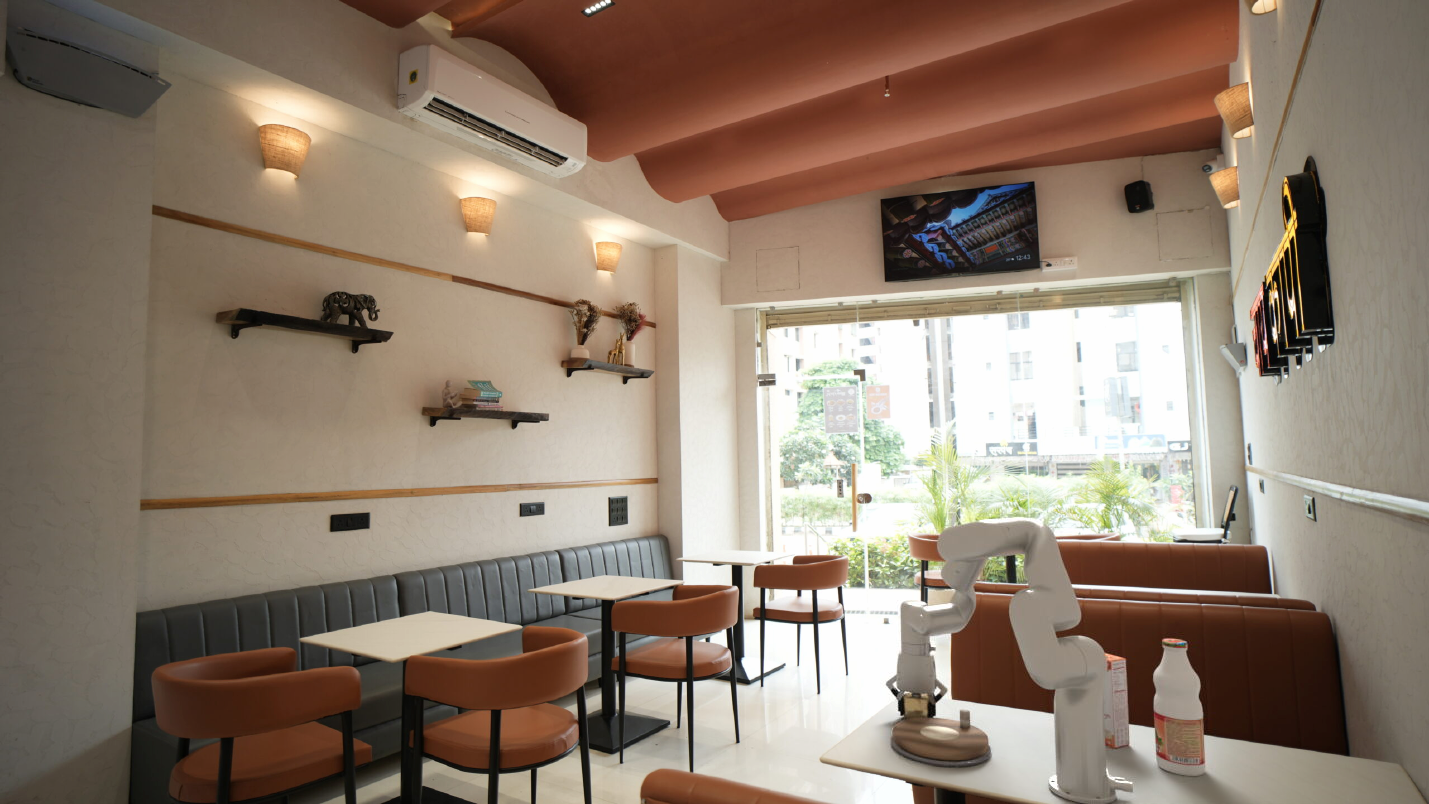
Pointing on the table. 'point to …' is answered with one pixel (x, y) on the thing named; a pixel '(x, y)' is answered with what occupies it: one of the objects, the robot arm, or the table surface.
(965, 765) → the turntable base
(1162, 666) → the fruit juice
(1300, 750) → the table surface
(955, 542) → the robot arm
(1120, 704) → the cracker box
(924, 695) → the cover
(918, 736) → the turntable
